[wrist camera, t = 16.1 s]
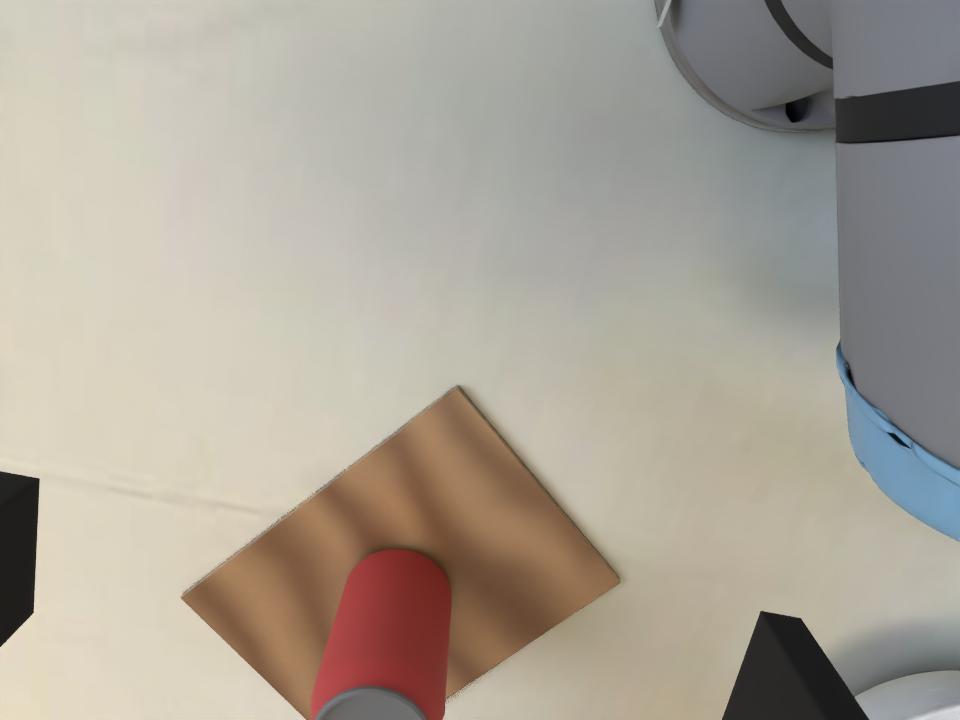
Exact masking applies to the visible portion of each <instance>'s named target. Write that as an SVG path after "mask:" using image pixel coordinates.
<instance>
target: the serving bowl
mask: <svg viewBox="0 0 960 720" xmlns="http://www.w3.org/2000/svg"><path fill="white" fill-rule="evenodd" d="M854 698H855V699H856V701H857V702H858V704H859V705H860V707H861V708H862V709H863V711H864V712H865V714H866V715H867V717H868V718H869V720H960V671H959V670H951V671H934V672H925V673H919V674H913V675H909V676H905V677H901V678H897V679H894V680H890V681H888V682H885V683H882V684H880V685H877V686H875V687H873V688H871V689H868V690H866V691H864V692H862V693H860V694H858V695H857V696H855V697H854Z"/></svg>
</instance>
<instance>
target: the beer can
mask: <svg viewBox="0 0 960 720" xmlns="http://www.w3.org/2000/svg"><path fill="white" fill-rule="evenodd" d="M451 606H452V600H451V588H450V585H449V583H448V580H447V578H446V575H445V574H444V573H443V572H442V570H441V569H440V568H439V567H438V566H437V565H436V563H435V562H433V561H432V560H430V559H429V558H427V557H425V556H424V555H422V554H420V553H417V552H413V551H410V550H406V549H387V550H383V551H380V552H377V553H373V554H371V555H369V556H368V557H366V558H365V559H363V560H362V561H361V562H359V563H358V564H357V565H356V566H355V567H354V569H353V570H352V571H351V573H350V574H349V575H348V578H347V581H346V584H345V587H344V590H343V594H342V597H341V600H340V603H339V607H338V610H337V613H336V616H335V619H334V623H333V626H332V629H331V632H330V635H329V639H328V642H327V645H326V648H325V651H324V655H323V658H322V661H321V664H320V668H319V671H318V674H317V677H316V680H315V684H314V687H313V690H312V694H311V697H310V710H311V720H442V719H443V717H444V714H445V699H446V683H447V668H448V652H449V637H450V622H451Z"/></svg>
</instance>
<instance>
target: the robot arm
mask: <svg viewBox="0 0 960 720" xmlns="http://www.w3.org/2000/svg"><path fill="white" fill-rule="evenodd" d="M655 5H656V11H657V17H658V21H659V22H658V24H657V27H656V29H657V28H659V27H660V29H661V32H662V35H663V38H664V41H665V44H666V46H667V48H668V50H669V53H670V55H671V57H672V59H673V61H674V62H675V64H676V66H677V67H678V69H679V71H680V72H681V74H682V75H683V76H684V78H685V79H686V80H687V82H688V83H689V84H690V85H691V86H692V88H693V89H694V90H695V91H696V92H697V93H698V94H699V95H700V96H701V97H702V98H704V99H705V100H706V101H707V102H708V103H709V104H711V105H712V106H713V107H715V108H716V109H718V110H719V111H721V112H722V113H724V114H726V115H728V116H729V117H731V118H733V119H735V120H738V121H740V122H743V123H745V124H747V125H751V126H754V127H758V128H761V129H767V130H773V131H784V132H801V131H820V130H827V129H835V128H836V182H837V222H838V262H839V302H840V342H839V344H838V346H837V349H836V361H837V368H838V371H839V375H840V378H841V380H842V382H843V383H844V385H845V394H846V405H847V417H848V428H849V436H850V440H851V444H852V447H853V450H854V452H855V455H856V457H857V459H858V461H859V463H860V464H861V465H862V466H863V467H864V468H865V469H866V470H867V471H868V472H869V473H870V475H871V477H872V479H873V481H874V482H875V483H876V484H877V486H878V487H879V489H880V490H881V491H882V492H883V493H884V494H885V495H886V496H887V497H889V498H890V499H891V500H892V501H893V502H895V503H896V504H897V505H898V506H900V507H901V508H902V509H904V510H905V511H906V512H908V513H909V514H911V515H912V516H914V517H915V518H917V519H918V520H920V521H922V522H923V523H925V524H926V525H928V526H930V527H932V528H933V529H935V530H937V531H939V532H941V533H943V534H945V535H947V536H949V537H950V538H953V539H955V540H957V541H959V542H960V0H655ZM38 501H39V478H33V477H28V476H22V475H17V474H11V473H6V472H1V471H0V647H1V646H2V645H3V644H4V643H5V642H6V641H7V640H8V639H9V638H10V637H11V636H12V635H13V633H14V632H15V631H16V630H17V629H18V628H19V627H20V626H21V625H22V624H23V623H24V622H25V621H26V620H27V619H28V618H29V617H30V616H31V615H32V614H33V613H34V590H35V568H36V545H37V523H38ZM722 720H869V718H868V717H867V715H866V714H865V712H864V711H863V709H862V708H861V707H860V705H859V704H858V702H857V701H856V699H855V698H854V696H853V695H852V693H851V692H850V690H849V689H848V687H847V686H846V684H845V683H844V681H843V680H842V678H841V677H840V676H839V674H838V673H837V671H836V670H835V668H834V667H833V665H832V664H831V662H830V661H829V659H828V658H827V656H826V655H825V653H824V652H823V650H822V649H821V647H820V646H819V645H818V643H817V642H816V640H815V639H814V637H813V636H812V634H811V633H810V631H809V630H808V628H807V627H806V625H805V624H804V622H803V621H802V619H801V618H796V617H791V616H785V615H780V614H774V613H769V612H764V611H761V612H760V615H759V618H758V620H757V623H756V626H755V629H754V632H753V634H752V637H751V640H750V643H749V646H748V648H747V651H746V654H745V657H744V660H743V662H742V665H741V668H740V671H739V674H738V676H737V679H736V682H735V685H734V688H733V690H732V693H731V696H730V699H729V702H728V704H727V707H726V710H725V713H724V716H723V718H722Z"/></svg>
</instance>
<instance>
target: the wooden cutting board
mask: <svg viewBox="0 0 960 720" xmlns="http://www.w3.org/2000/svg"><path fill="white" fill-rule="evenodd" d="M387 549H406V550H410V551H413V552H417V553H420V554H422V555H424V556H425V557H427V558H429V559H430V560H432V561H433V562H435V563H436V565H437V566H438V567H439V568H440V569H441V570H442V572H443V573H444V574H445V575H446V578H447V580H448V583H449V585H450V588H451V600H452V606H451V622H450V637H449V652H448V668H447V683H446V698H448V697H449V696H451V695H452V694H454V693H455V692H457V691H458V690H460V689H461V688H463V687H464V686H466V685H467V684H469V683H470V682H472V681H473V680H475V679H476V678H478V677H479V676H481V675H482V674H484V673H485V672H487V671H488V670H490V669H491V668H493V667H494V666H496V665H497V664H499V663H500V662H502V661H503V660H505V659H506V658H508V657H509V656H511V655H512V654H514V653H515V652H517V651H518V650H520V649H521V648H523V647H524V646H526V645H527V644H529V643H530V642H532V641H533V640H535V639H536V638H538V637H539V636H541V635H542V634H544V633H545V632H547V631H548V630H550V629H551V628H553V627H554V626H556V625H557V624H559V623H560V622H562V621H563V620H565V619H566V618H568V617H569V616H571V615H572V614H574V613H575V612H577V611H578V610H580V609H581V608H583V607H584V606H586V605H587V604H589V603H590V602H592V601H593V600H595V599H596V598H598V597H599V596H601V595H602V594H604V593H605V592H607V591H608V590H610V589H611V588H613V587H614V586H616V585H617V584H619V583H620V579H619V577H618V576H617V575H616V574H615V572H614V571H613V570H612V569H611V568H610V566H609V565H608V564H607V563H606V562H605V560H604V559H603V558H602V557H601V556H600V554H599V553H598V552H597V551H596V550H595V549H594V547H593V546H592V545H591V544H590V543H589V541H588V540H587V539H586V538H585V537H584V535H583V534H582V533H581V532H580V531H579V529H578V528H577V527H576V526H575V525H574V524H573V522H572V521H571V520H570V519H569V518H568V516H567V515H566V514H565V513H564V512H563V510H562V509H561V508H560V507H559V506H558V505H557V503H556V502H555V501H554V500H553V499H552V497H551V496H550V495H549V494H548V493H547V491H546V490H545V489H544V488H543V487H542V485H541V484H540V483H539V482H538V481H537V480H536V478H535V477H534V476H533V475H532V474H531V472H530V471H529V470H528V469H527V468H526V466H525V465H524V464H523V463H522V462H521V461H520V459H519V458H518V457H517V456H516V455H515V453H514V452H513V451H512V450H511V449H510V447H509V446H508V445H507V444H506V443H505V441H504V440H503V439H502V438H501V437H500V436H499V434H498V433H497V432H496V431H495V430H494V428H493V427H492V426H491V425H490V424H489V422H488V421H487V420H486V419H485V418H484V417H483V415H482V414H481V413H480V412H479V411H478V409H477V408H476V407H475V406H474V405H473V403H472V402H471V401H470V400H469V399H468V397H467V396H466V395H465V394H464V393H463V392H462V390H461V389H460V388H459V387H458V386H456V387H454V388H453V389H452V390H451V391H449V392H448V393H447V394H445V395H444V396H443V397H441V398H440V399H439V400H437V401H436V402H435V403H433V404H432V405H431V406H429V407H428V408H427V409H425V410H424V411H423V412H422V413H420V414H419V415H418V416H416V417H415V418H414V419H412V420H411V421H410V422H408V423H407V424H406V425H404V426H403V427H402V428H400V429H399V430H398V431H397V432H395V433H394V434H393V435H391V436H390V437H389V438H387V439H386V440H385V441H383V442H382V443H381V444H379V445H378V446H377V447H375V448H374V449H373V450H371V451H370V452H369V453H368V454H366V455H365V456H364V457H362V458H361V459H360V460H358V461H357V462H356V463H354V464H353V465H352V466H350V467H349V468H348V469H346V470H345V471H344V472H342V473H341V474H340V475H339V476H337V477H336V478H335V479H333V480H332V481H331V482H329V483H328V484H327V485H325V486H324V487H323V488H321V489H320V490H319V491H317V492H316V493H315V494H313V495H312V496H311V497H310V498H308V499H307V500H306V501H304V502H303V503H302V504H300V505H299V506H298V507H296V508H295V509H294V510H292V511H291V512H290V513H288V514H287V515H286V516H284V517H283V518H282V519H281V520H279V521H278V522H277V523H275V524H274V525H273V526H271V527H270V528H269V529H267V530H266V531H265V532H263V533H262V534H261V535H259V536H258V537H257V538H255V539H254V540H253V541H252V542H250V543H249V544H248V545H246V546H245V547H244V548H242V549H241V550H240V551H238V552H237V553H236V554H234V555H233V556H232V557H230V558H229V559H228V560H226V561H225V562H224V563H223V564H221V565H220V566H219V567H217V568H216V569H215V570H213V571H212V572H211V573H209V574H208V575H207V576H205V577H204V578H203V579H201V580H200V581H199V582H197V583H196V584H195V585H194V586H192V587H191V588H190V589H188V590H187V591H186V592H184V593H183V595H182V596H181V599H182V600H183V601H184V602H185V603H186V604H187V605H188V606H189V607H191V608H192V609H193V610H194V611H195V612H196V613H197V614H198V615H199V616H200V617H201V618H202V619H203V620H204V621H205V622H206V623H207V624H208V625H209V626H210V627H211V628H212V629H213V630H214V631H215V632H216V633H217V634H218V635H219V636H220V637H222V638H223V639H224V640H225V641H226V642H227V643H228V644H229V645H230V646H231V647H232V648H233V649H234V650H235V651H236V652H237V653H238V654H239V655H240V656H241V657H242V658H243V659H244V660H245V661H246V662H247V663H248V664H249V665H250V666H251V667H253V668H254V669H255V670H256V671H257V672H258V673H259V674H260V675H261V676H262V677H263V678H264V679H265V680H266V681H267V682H268V683H269V684H270V685H271V686H272V687H273V688H274V689H275V690H276V691H277V692H278V693H279V694H280V695H281V696H282V697H284V698H285V699H286V700H287V701H288V702H289V703H290V704H291V705H292V706H293V707H294V708H295V709H296V710H297V711H298V712H299V713H300V714H301V715H302V716H303V717H304V718H305V719H306V720H311V710H310V697H311V694H312V690H313V687H314V684H315V680H316V677H317V674H318V671H319V668H320V664H321V661H322V658H323V655H324V651H325V648H326V645H327V642H328V639H329V635H330V632H331V629H332V626H333V623H334V619H335V616H336V613H337V610H338V607H339V603H340V600H341V597H342V594H343V590H344V587H345V584H346V581H347V578H348V575H349V574H350V573H351V571H352V570H353V569H354V567H355V566H356V565H357V564H358V563H359V562H361V561H362V560H363V559H365V558H366V557H368V556H369V555H371V554H373V553H377V552H380V551H383V550H387Z"/></svg>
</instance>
